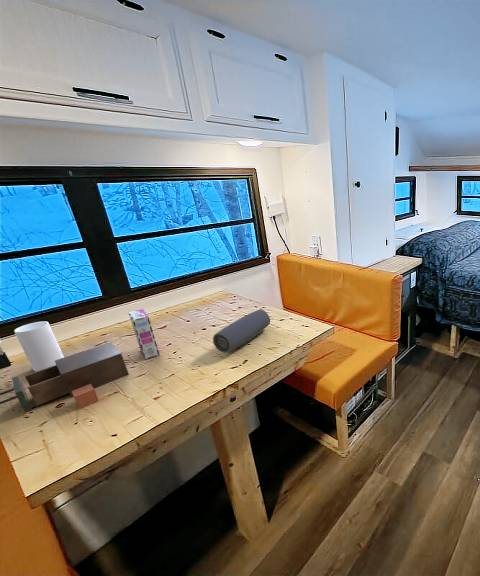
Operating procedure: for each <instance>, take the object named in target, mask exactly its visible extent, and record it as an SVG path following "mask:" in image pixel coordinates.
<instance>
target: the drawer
mask: <svg viewBox="0 0 480 576" xmlns="http://www.w3.org/2000/svg"><path fill="white" fill-rule="evenodd" d="M24 378H25V380H26V382H27V383H28V386H27V389H28V391H29V393H30V395H31V397H32V398H33V401H34V402H35V405H36V406H39V405H42V404H44V403H47V402H50V401H52V400H54V399H57V398H59V397H62V396H64V395H67V394H70V393H69V391H68V389H67V387H66V385H65V382H64V380H63V378H62V376H61V374H60V372H59V369H58V367H57V365H54V366H51V367H48V368H45V369H42V370H40V371H37V372H35V371H34V372H30V373H28V374H25V375H24ZM11 380H12V385H13V388H10V389H7V390H3V391H1V392H0V396H2V395H5V394H9V393H11V392H14V394H15V395H14V396H12V397H11V396H10V397H9V398H5V399H3V400H0V405H3V404H6V403H8V402H11V401H13V400H16V399H17V400H18V401H19V403H20V405H21V407H22V409H23V411H24V413H27V412H29V411H31V410H32V407H31V404H30V400H29V395H28V393H27V391H26V389H25V387H24V385H23V383H22V382H21V380H20V378H19V376H18V375H17V376H14V377H12V378H11Z"/></svg>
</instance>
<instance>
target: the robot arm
mask: <svg viewBox="0 0 480 576" xmlns="http://www.w3.org/2000/svg"><path fill="white" fill-rule="evenodd" d="M1 346H2V341H1V339H0V370H3V369H7V368H9V367H11V366H12V362H11V360H10V359H9V357H8V355H7V353H6V352H5V351H3V349H2V347H1Z"/></svg>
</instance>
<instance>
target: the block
mask: <svg viewBox="0 0 480 576" xmlns="http://www.w3.org/2000/svg"><path fill="white" fill-rule="evenodd" d="M71 392H72V394H73V396H74V397H73V398H74V400H75V402H76V404H77V407H78V409H79V410H81V409H83V408H86V407H89V406H90V405H93V404H95V403H98V402H99V401H100V400H99V397H98V395H97V393H96V391H95V388H93V387H92V385H91V384H89V385H86V386H84V387H81V388H78V389H76V390H73V391H71Z"/></svg>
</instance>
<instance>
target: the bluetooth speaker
mask: <svg viewBox="0 0 480 576" xmlns="http://www.w3.org/2000/svg"><path fill="white" fill-rule="evenodd" d="M270 324H271V318H270V315H269V314H268V312H267V311H265V310H264V309H256V310H254V311H252V312H249V313H248V314H246V315H245V316H242V317H241V318H239V319H237V320H235V321H233V322H231V323H230V324H228V325H227V326H225V327H224V328H222V329H220V330H219V331H218V332H216V333H215V334H214V335H213V336H212V343H213V345H214V347H215V349H217V350H218V351H219V352H221V353H225V354H227V353H229V352H232V351H233V350H235V349H237V348H239V349H240V348H241V347H243V346H244V345H246V344H248V343H249V342H252V340H254V339H255V338H256V337H257V335H258V334H259V333H261V332H262V331H264V330H265V329H266V328H267V327H268V326H270Z"/></svg>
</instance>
